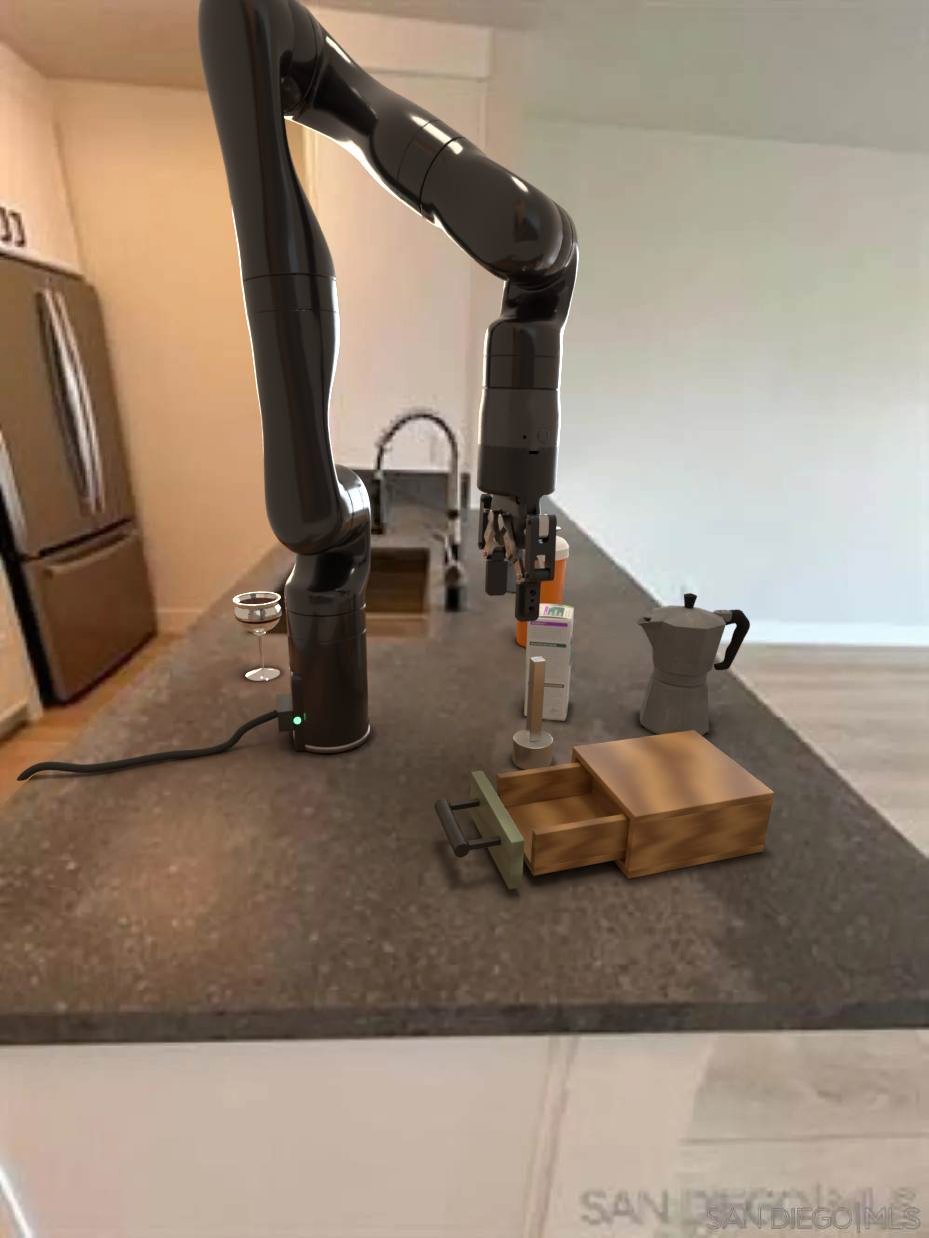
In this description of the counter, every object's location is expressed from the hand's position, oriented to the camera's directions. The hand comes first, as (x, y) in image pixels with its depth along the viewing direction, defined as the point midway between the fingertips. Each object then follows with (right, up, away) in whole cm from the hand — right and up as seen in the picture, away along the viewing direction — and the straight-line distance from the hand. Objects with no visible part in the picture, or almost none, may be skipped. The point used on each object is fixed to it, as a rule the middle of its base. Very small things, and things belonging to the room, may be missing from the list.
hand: (510, 606), depth 68 cm
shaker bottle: (+8, -6, +50) cm, 51 cm away
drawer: (+2, -22, -4) cm, 23 cm away
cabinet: (+15, -22, +1) cm, 27 cm away
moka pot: (+7, +6, +83) cm, 84 cm away
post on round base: (+3, -18, +12) cm, 22 cm away
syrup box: (+7, -14, +25) cm, 29 cm away
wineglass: (-35, -10, +34) cm, 50 cm away
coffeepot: (+24, -15, +22) cm, 36 cm away
